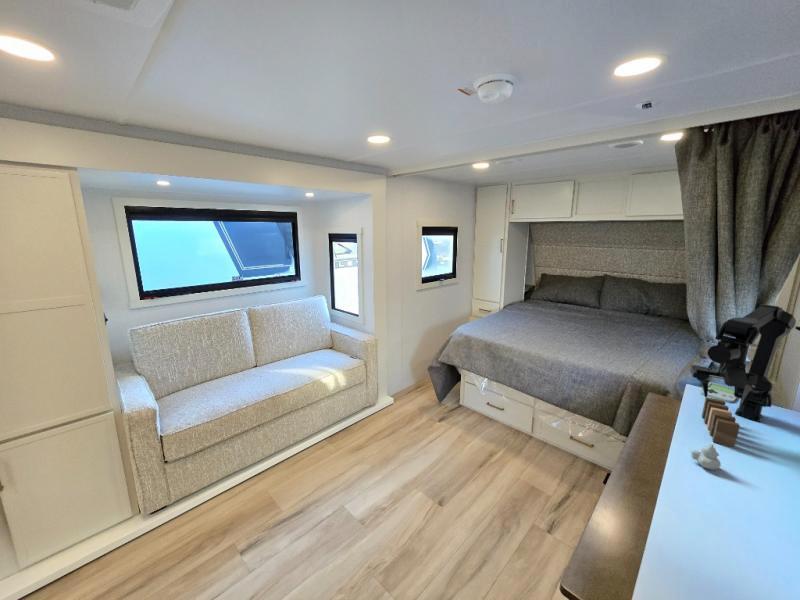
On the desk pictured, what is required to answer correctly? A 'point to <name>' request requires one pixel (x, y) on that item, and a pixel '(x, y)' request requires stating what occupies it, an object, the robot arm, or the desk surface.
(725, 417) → the domino
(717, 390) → the handheld gaming console
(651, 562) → the desk surface
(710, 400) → the domino
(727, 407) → the domino
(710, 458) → the grey lumpy figure
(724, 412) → the domino
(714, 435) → the domino
